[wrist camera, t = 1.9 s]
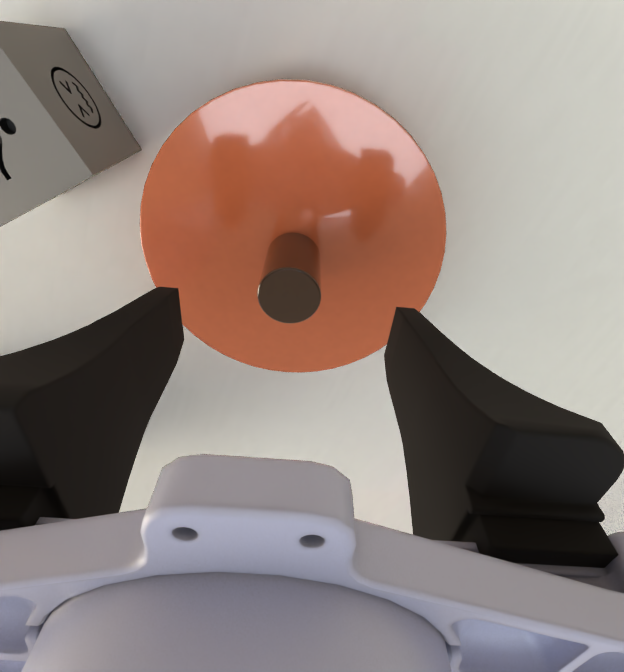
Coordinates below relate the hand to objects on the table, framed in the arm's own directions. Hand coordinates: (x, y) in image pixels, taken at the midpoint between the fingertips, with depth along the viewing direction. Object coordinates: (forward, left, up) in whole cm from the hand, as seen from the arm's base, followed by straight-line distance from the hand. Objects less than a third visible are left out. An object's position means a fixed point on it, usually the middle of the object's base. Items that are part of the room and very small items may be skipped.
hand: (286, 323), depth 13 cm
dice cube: (-11, +4, -10) cm, 15 cm away
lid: (0, 0, -6) cm, 6 cm away
